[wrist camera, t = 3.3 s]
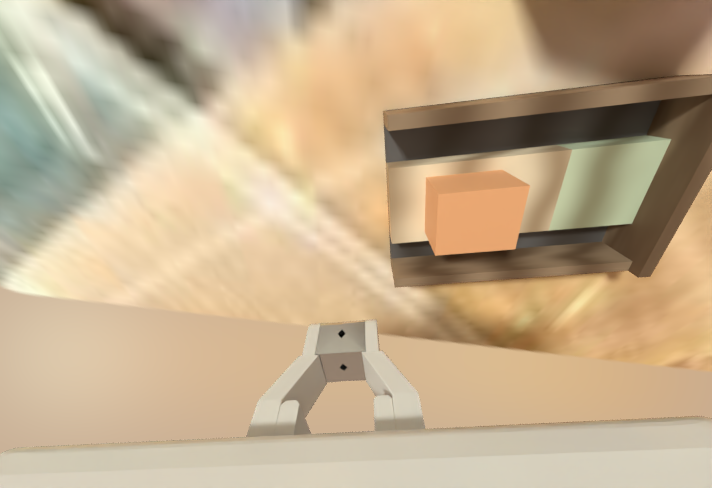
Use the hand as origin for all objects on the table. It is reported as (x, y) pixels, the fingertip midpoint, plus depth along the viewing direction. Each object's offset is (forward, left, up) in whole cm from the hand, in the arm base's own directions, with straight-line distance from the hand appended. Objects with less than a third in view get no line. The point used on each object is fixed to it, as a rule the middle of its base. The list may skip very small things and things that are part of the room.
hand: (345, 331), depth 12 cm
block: (-9, 0, -13) cm, 16 cm away
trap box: (-14, 0, -16) cm, 21 cm away
